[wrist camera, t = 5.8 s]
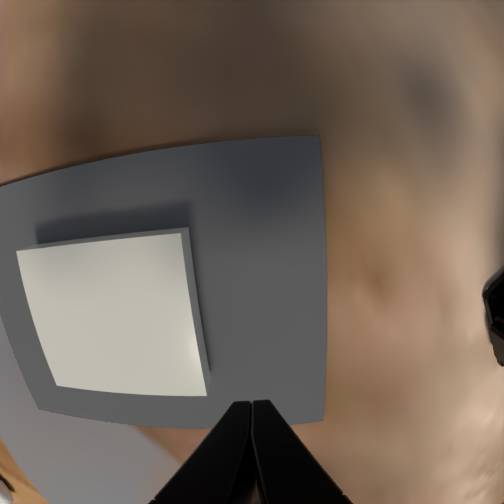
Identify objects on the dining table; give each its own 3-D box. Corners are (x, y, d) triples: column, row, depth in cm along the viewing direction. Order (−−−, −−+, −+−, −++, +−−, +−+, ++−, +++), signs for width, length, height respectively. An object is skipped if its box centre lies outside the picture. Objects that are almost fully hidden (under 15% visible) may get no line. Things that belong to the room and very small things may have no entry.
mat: (317, 136, 12) (319, 134, 12) (321, 416, 15) (323, 420, 15) (-19, 193, 12) (-23, 194, 12) (41, 405, 16) (38, 408, 15)
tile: (180, 233, 11) (16, 251, 11) (206, 395, 12) (56, 385, 13) (190, 225, 13) (36, 243, 13) (211, 374, 14) (71, 369, 14)
